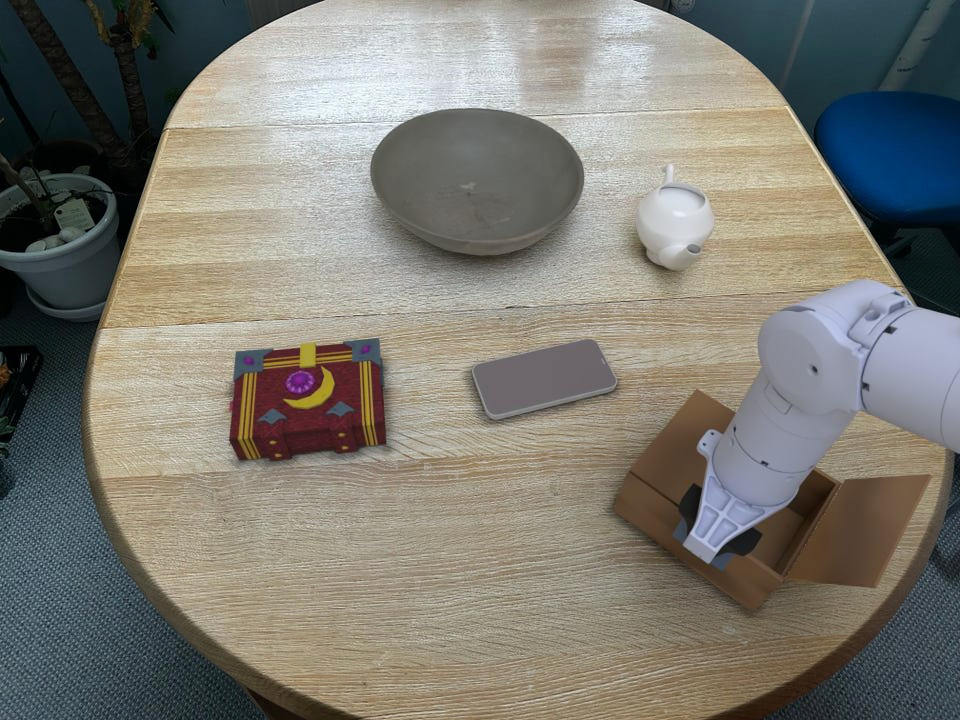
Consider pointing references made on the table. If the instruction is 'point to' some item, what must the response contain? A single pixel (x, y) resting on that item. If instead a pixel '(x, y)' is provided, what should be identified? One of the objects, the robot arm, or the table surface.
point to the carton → (679, 465)
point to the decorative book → (307, 400)
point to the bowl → (477, 179)
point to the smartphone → (543, 378)
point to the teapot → (674, 222)
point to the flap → (860, 531)
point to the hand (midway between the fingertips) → (715, 525)
